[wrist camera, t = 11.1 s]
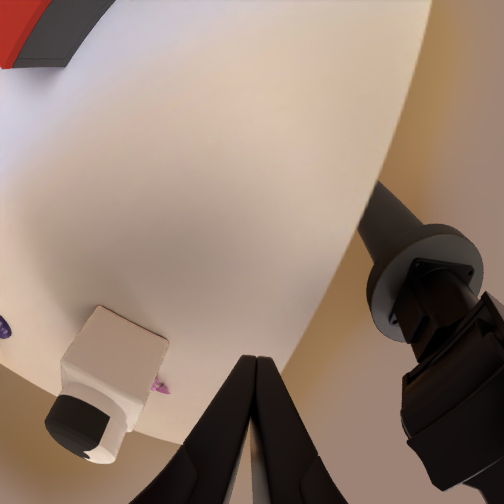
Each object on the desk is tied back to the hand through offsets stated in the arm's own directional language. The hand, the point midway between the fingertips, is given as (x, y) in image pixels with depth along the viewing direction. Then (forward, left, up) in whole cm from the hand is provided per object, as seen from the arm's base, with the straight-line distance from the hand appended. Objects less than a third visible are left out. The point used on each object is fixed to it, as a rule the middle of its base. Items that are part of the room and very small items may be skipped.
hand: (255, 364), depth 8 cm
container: (+13, +16, -13) cm, 24 cm away
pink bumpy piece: (+10, +21, -13) cm, 27 cm away
